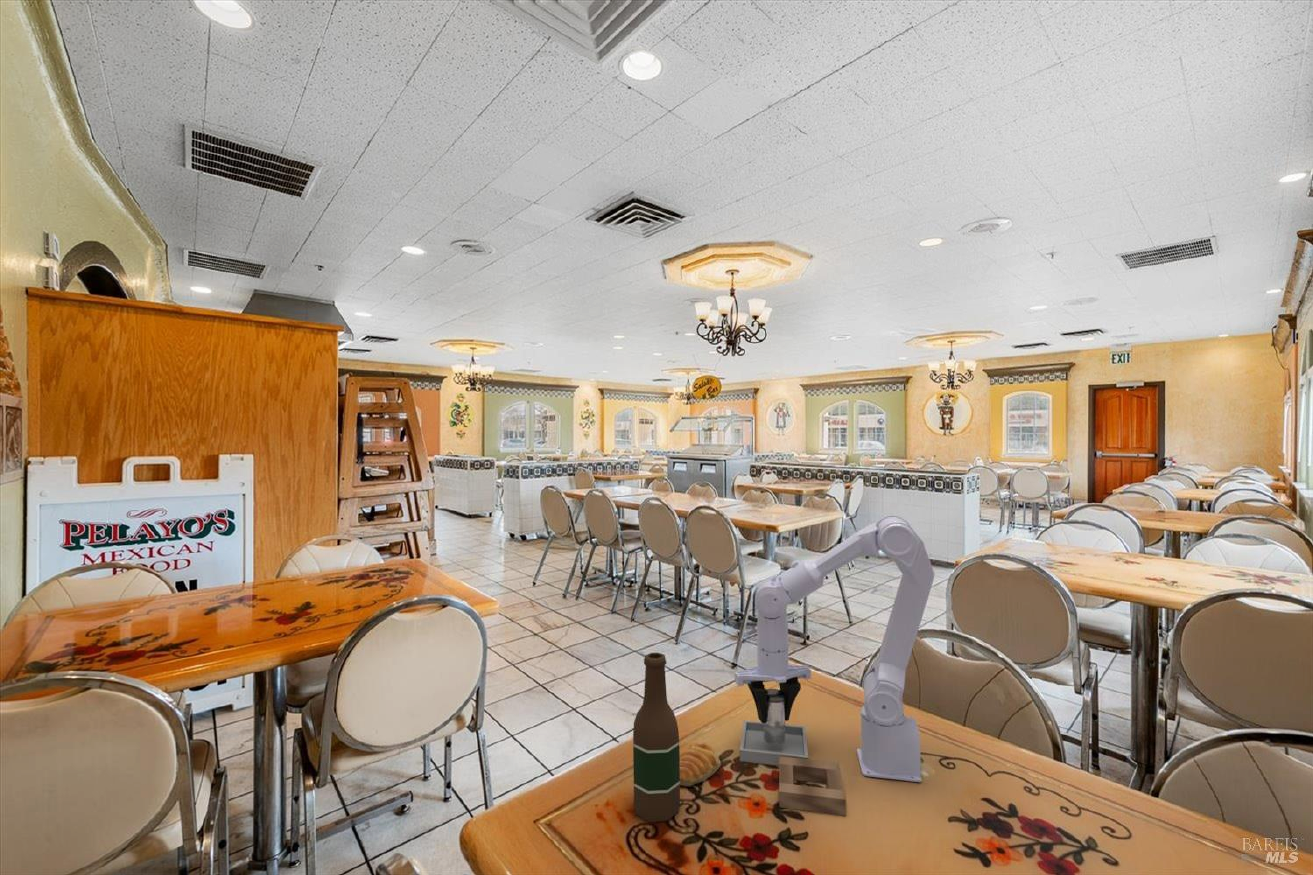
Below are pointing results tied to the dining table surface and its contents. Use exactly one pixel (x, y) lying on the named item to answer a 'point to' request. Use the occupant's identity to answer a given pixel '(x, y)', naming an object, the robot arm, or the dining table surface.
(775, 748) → the tray
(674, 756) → the beer bottle
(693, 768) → the pastry
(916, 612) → the robot arm
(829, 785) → the eye block
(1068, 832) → the dining table surface
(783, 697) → the steel pin
